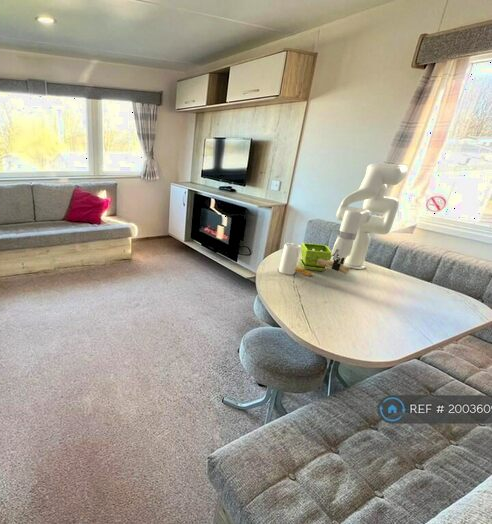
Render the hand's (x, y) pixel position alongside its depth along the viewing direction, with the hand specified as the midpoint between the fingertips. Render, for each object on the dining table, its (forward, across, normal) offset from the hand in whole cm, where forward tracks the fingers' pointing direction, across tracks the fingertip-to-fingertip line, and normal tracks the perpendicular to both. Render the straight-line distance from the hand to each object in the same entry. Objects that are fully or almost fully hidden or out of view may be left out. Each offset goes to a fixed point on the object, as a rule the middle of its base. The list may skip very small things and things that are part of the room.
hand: (336, 269), depth 159 cm
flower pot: (+9, -13, -19) cm, 25 cm away
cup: (+9, +7, -22) cm, 25 cm away
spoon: (0, 0, -2) cm, 2 cm away
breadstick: (+9, 0, -17) cm, 19 cm away
